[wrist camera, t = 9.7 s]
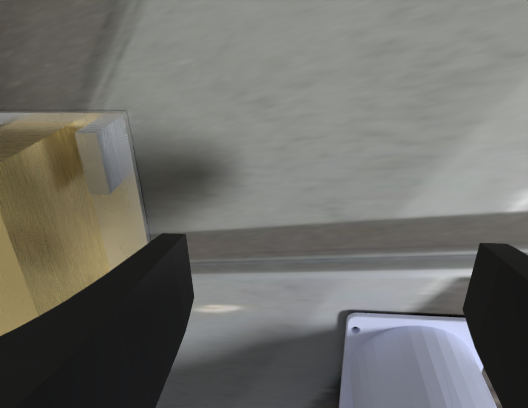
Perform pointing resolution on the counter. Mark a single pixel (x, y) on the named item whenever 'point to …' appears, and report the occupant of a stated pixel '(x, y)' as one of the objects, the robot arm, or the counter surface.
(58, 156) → the brass plaque on stand
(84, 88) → the counter surface
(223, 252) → the counter surface
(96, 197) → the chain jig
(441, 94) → the counter surface
